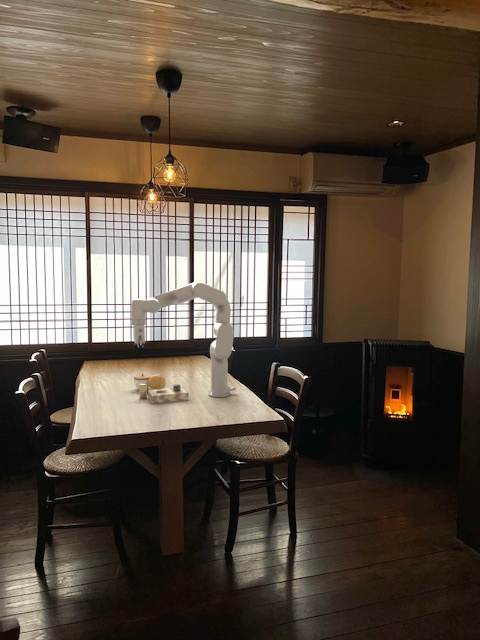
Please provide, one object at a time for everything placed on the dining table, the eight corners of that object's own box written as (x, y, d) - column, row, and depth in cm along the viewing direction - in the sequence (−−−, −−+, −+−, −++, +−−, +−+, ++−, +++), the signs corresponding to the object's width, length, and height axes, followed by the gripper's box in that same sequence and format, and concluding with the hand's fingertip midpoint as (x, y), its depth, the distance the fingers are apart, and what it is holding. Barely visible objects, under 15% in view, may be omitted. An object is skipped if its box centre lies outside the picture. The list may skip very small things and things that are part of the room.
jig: (183, 393, 272) (182, 381, 271) (188, 399, 260) (188, 387, 259) (148, 397, 265) (148, 384, 265) (152, 403, 253) (151, 390, 253)
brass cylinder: (146, 397, 266) (146, 383, 265) (147, 398, 262) (147, 384, 261) (139, 397, 264) (138, 383, 263) (140, 399, 260) (139, 385, 260)
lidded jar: (130, 390, 280) (130, 375, 279) (138, 386, 290) (138, 371, 289) (147, 391, 277) (147, 376, 276) (155, 387, 288) (154, 372, 287)
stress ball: (146, 393, 277) (152, 385, 270) (145, 378, 282) (150, 370, 275) (163, 394, 281) (168, 386, 274) (161, 379, 287) (167, 371, 280)
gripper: (148, 323, 246) (148, 356, 248) (142, 320, 262) (142, 350, 264) (133, 324, 243) (134, 356, 245) (129, 320, 259) (129, 351, 261)
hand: (138, 353), depth 255 cm, fingers open, 9 cm apart
